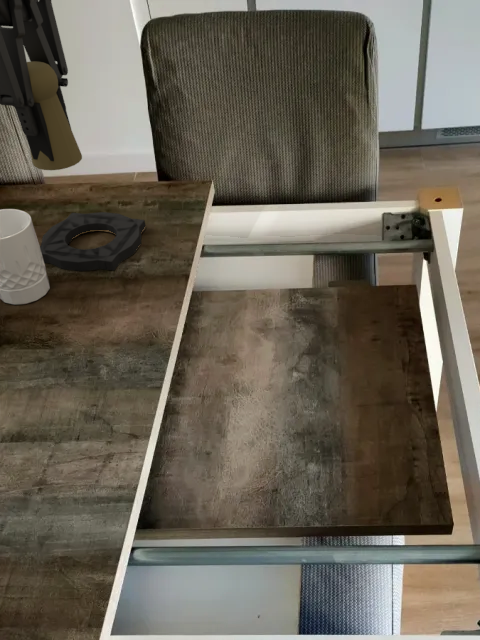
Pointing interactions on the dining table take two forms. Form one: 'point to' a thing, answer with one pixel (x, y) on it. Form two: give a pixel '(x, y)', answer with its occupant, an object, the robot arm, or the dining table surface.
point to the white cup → (20, 259)
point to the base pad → (96, 258)
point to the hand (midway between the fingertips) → (54, 150)
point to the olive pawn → (52, 119)
